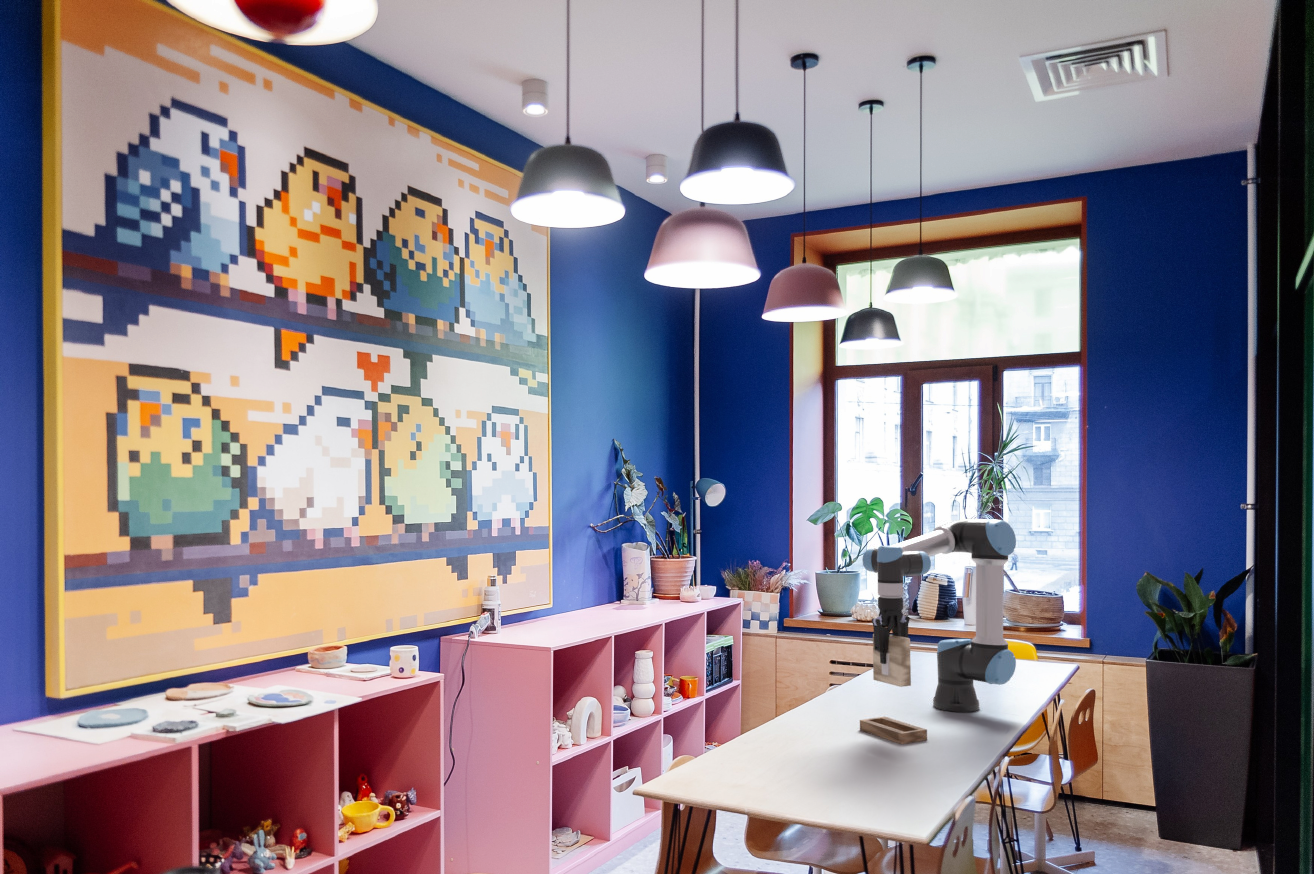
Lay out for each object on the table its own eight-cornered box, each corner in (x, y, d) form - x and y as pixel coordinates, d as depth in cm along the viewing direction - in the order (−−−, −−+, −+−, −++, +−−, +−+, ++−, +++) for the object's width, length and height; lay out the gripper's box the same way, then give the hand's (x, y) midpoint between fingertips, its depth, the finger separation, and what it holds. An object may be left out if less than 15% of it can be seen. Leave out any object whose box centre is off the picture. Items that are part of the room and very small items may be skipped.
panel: (883, 678, 284) (882, 633, 285) (911, 685, 274) (910, 638, 275) (873, 679, 282) (872, 634, 283) (900, 686, 272) (899, 639, 273)
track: (884, 726, 288) (884, 716, 288) (927, 739, 271) (927, 729, 272) (859, 729, 283) (859, 720, 283) (901, 744, 267) (901, 733, 267)
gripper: (902, 593, 287) (904, 669, 286) (860, 596, 279) (861, 674, 278) (920, 596, 281) (921, 673, 279) (877, 599, 273) (878, 678, 271)
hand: (891, 673), depth 278 cm, fingers closed on panel, 4 cm apart
